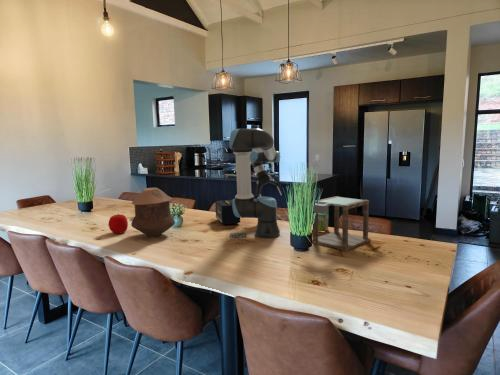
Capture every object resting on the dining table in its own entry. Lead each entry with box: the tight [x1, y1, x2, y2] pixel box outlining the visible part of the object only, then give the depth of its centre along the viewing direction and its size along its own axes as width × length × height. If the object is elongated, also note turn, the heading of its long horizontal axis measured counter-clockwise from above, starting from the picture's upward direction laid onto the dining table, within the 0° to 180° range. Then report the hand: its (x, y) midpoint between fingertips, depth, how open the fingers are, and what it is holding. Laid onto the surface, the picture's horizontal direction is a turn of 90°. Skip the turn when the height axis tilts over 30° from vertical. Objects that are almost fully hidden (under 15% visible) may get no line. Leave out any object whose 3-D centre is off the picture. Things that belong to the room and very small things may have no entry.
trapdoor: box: [314, 196, 363, 214], centre depth 184 cm, size 36×16×4 cm, turn 132°
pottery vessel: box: [130, 187, 176, 238], centre depth 211 cm, size 26×26×30 cm
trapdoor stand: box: [311, 195, 371, 252], centre depth 191 cm, size 25×23×24 cm
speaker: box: [215, 199, 241, 226], centre depth 243 cm, size 22×13×15 cm, turn 17°
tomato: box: [108, 213, 129, 235], centre depth 220 cm, size 12×12×13 cm
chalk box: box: [318, 212, 329, 232], centre depth 216 cm, size 9×9×15 cm
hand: (272, 199), depth 241 cm, fingers open, 13 cm apart
